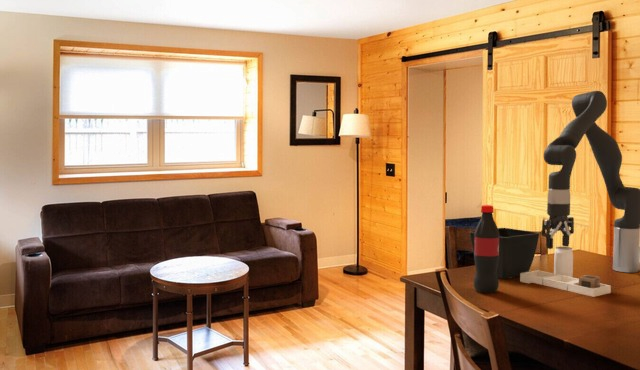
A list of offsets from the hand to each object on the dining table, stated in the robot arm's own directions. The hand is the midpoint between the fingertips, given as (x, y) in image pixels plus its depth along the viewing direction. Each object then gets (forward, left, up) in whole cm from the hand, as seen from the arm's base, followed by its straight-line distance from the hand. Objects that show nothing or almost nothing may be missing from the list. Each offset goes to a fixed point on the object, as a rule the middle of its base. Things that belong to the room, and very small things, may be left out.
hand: (557, 247), depth 218 cm
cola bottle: (+26, -9, -14) cm, 31 cm away
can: (-11, -5, -14) cm, 19 cm away
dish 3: (0, +13, -14) cm, 19 cm away
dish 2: (0, +3, -14) cm, 14 cm away
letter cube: (0, +13, -13) cm, 18 cm away
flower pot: (+1, -23, -14) cm, 27 cm away
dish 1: (0, -7, -14) cm, 16 cm away
